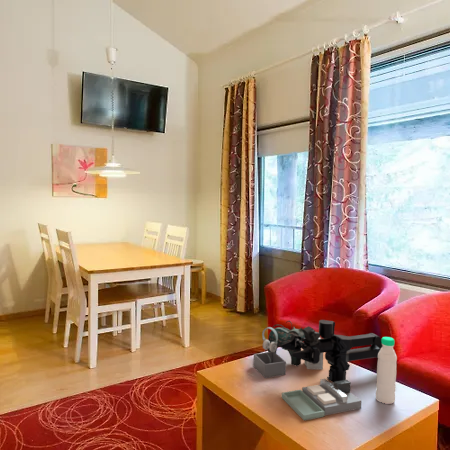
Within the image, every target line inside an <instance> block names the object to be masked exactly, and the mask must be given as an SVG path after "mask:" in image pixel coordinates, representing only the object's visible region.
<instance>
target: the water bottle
mask: <svg viewBox="0 0 450 450" xmlns="http://www.w3.org/2000/svg"><path fill="white" fill-rule="evenodd" d="M381 339H382V340H381V342H382V345H383V346H382V348H381V349H380V351H379V353H378V358H377V364H376V385H375V387H376V391H375V399H376V400H377V401H378V402H380V403H381V402H382V403H381V404H384V403H385V404H386V405H391V404H392V405H393V404H394V402H395V401H396V389H397V387H396V381H397V362H398V361H397V360H398V356H397V354H396V351H395V349H394V347H395V342H396V341H395V338H393V337H391V336H382V338H381Z"/></svg>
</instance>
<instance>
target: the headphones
mask: <svg viewBox="0 0 450 450" xmlns="http://www.w3.org/2000/svg"><path fill="white" fill-rule="evenodd" d="M266 330H270V331H273V332H274V334H275V336H276V342H271V344H270V341H269V340H268V339H267V338H266V337H265V332H266ZM261 332H262V333H261V336H262V341H263V343H262V349H264V350H265V352H264V353H266V352H267V351H268V349H270V351H271V352H275V351H276V349H277V350H278V348H277V341H278V334H277V332H276V331H275V328H274V327H273V328H272V327H271V326H268V327H266V328H264V329H263V330H262V331H261ZM276 352H277V351H276ZM266 354H267V353H266ZM267 355H268V354H267ZM268 357H269V356H268ZM269 358H270V357H269ZM270 362H271V360H270ZM269 364H270V363H269Z"/></svg>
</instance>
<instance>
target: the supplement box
mask: <svg viewBox="0 0 450 450" xmlns="http://www.w3.org/2000/svg"><path fill="white" fill-rule="evenodd" d="M319 339H322V337H319ZM303 361H304V366H305V368H306V369H307V370H323V369H324V353H320V361H319V362H318V363H317V364H313V363H310V362H308V361H305V360H303Z"/></svg>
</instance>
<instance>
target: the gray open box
mask: <svg viewBox="0 0 450 450" xmlns="http://www.w3.org/2000/svg"><path fill="white" fill-rule="evenodd" d="M266 353H267V354H268V355H267V354H266ZM268 356H269V357H270V358H269V357H268ZM270 360H271V362H270ZM269 363H270V364H269ZM253 368H254V369H255V370H256V371H257V372H258V374H260V375H261V376H262V377H263V378H264V379H268V378H272V377H273V378H274V377H279V376H280V377H281V376H286V373H287V371H286V368H287V362H286V360H284V359H283V358H282V357H281V356H280V355H278V354H277V352H276V353H275V352H268V351H266V352H261V353H253Z"/></svg>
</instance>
